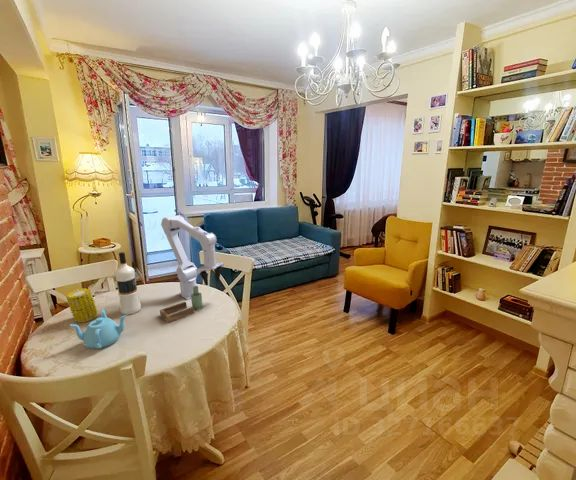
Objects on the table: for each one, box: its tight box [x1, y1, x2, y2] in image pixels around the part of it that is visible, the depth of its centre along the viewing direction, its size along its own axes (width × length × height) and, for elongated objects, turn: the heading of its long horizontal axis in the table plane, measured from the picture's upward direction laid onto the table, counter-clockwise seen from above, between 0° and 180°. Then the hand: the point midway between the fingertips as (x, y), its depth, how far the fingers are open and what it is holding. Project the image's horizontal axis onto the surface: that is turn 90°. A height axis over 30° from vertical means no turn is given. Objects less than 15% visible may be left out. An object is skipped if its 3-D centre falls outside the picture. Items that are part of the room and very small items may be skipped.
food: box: [65, 287, 98, 323], centre depth 139 cm, size 15×12×10 cm
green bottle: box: [190, 285, 204, 311], centre depth 148 cm, size 5×5×11 cm
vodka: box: [114, 251, 142, 316], centre depth 144 cm, size 9×9×30 cm
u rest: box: [159, 301, 195, 324], centre depth 142 cm, size 9×13×3 cm
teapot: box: [69, 308, 128, 350], centre depth 121 cm, size 15×15×10 cm
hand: (211, 282), depth 153 cm, fingers open, 6 cm apart
